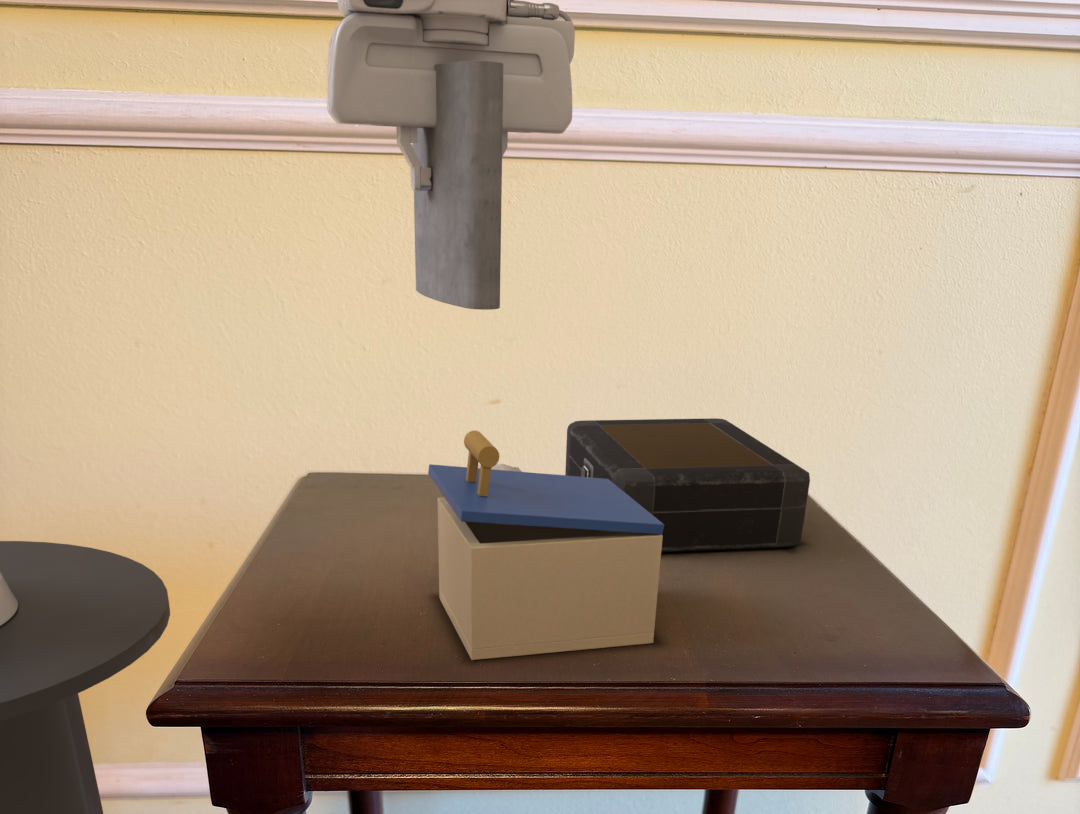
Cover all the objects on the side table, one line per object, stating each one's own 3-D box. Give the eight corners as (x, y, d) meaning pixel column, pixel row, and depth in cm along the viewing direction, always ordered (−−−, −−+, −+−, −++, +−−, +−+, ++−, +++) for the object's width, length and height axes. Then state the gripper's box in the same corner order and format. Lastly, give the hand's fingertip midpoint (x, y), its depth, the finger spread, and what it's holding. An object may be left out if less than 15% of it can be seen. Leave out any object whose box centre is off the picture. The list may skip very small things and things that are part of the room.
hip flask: (505, 309, 86) (510, 23, 76) (459, 310, 84) (459, 18, 75) (443, 288, 99) (440, 41, 89) (402, 289, 97) (395, 37, 88)
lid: (460, 521, 72) (468, 456, 70) (428, 473, 83) (433, 416, 81) (662, 534, 77) (675, 474, 75) (606, 488, 88) (616, 434, 86)
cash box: (556, 485, 120) (559, 419, 116) (720, 481, 124) (727, 416, 120) (610, 557, 99) (615, 478, 95) (806, 549, 102) (818, 473, 99)
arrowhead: (513, 452, 125) (548, 481, 118) (513, 466, 126) (547, 496, 119) (461, 458, 123) (493, 488, 115) (461, 473, 124) (493, 504, 116)
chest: (471, 660, 77) (470, 547, 73) (439, 598, 88) (437, 497, 84) (653, 643, 81) (663, 535, 77) (601, 585, 92) (607, 488, 88)
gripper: (564, 9, 86) (557, 194, 93) (317, -11, 81) (328, 186, 87) (588, 0, 81) (579, 196, 87) (326, -22, 75) (337, 189, 82)
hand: (452, 191), depth 87 cm, fingers closed on hip flask, 4 cm apart
